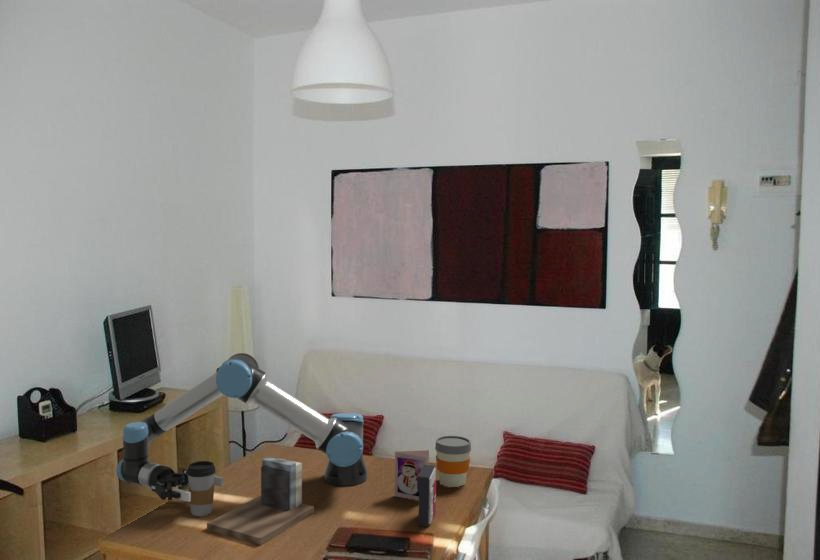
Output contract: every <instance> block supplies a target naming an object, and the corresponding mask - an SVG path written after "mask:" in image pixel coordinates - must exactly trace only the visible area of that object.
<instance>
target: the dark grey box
mask: <svg viewBox="0 0 820 560" xmlns="http://www.w3.org/2000/svg"><path fill="white" fill-rule="evenodd" d="M436 469H437V467H436V466H435V465H431V464H429V465H423V467H422V469H421V471H420V473H419V475H418V477H417V489H418V491H419V501H418V526H422V527H429V525H431V523H432V521H433V519H434V516H435V514H436V508H437V503H436V502H437V480H436V478H437V477H436V476H437V473H436V472H437V470H436Z"/></svg>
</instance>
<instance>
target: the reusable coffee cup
mask: <svg viewBox="0 0 820 560" xmlns="http://www.w3.org/2000/svg"><path fill="white" fill-rule="evenodd" d="M434 449H435V451H436V455H435V461H436V469H437V470H436V471H438V477H439V478H438V480H439V484H440V483H441V484H442V485H444V486H443V487H445V486H448V487H447V488H449V487H458V486H462V485H464V484H465V485H466V481H467V476H468V475H467V474H468V472H469V469H470V468H469V467H470V463H471V456H470V454H471V451H472V444H471V440H470V439H469V438H468V437H465V436H461V435H460V436H459V435H444V436H440V437H438V438H436V440H435V448H434ZM441 484H440V485H441ZM442 485H441V486H442ZM465 485H464V486H465ZM462 487H463V486H462ZM458 488H459V487H458Z"/></svg>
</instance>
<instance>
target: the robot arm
mask: <svg viewBox="0 0 820 560" xmlns="http://www.w3.org/2000/svg"><path fill="white" fill-rule="evenodd" d="M221 396H225V397H227V398H231V399H238V400H240V401H241V402H243V403H244V404H251V403H253V404H255V405H257V406H258V407H260V408H261V409H263V410H264V411H266V412H268V413H269V414H270V415H272V416H274V417H275V418H277V419H279V420H280V421H282V422H284V424H287V425H288V426H289V427H291V428H293V429H294V430H295V431H297V432H299V433H301V434H302V435H303V436H305V437H307V438H308V439H310V440H312V441H313V442H314V443H315V447H316V448H315V449H317V450H319V451H321V453H323V454H325V455H326V456H327V458H328V462H327V464H326V468H325V471H324V480H325V481H326V482H327V483H329V484H331V485H335V486H341V487H342V486H356V485H360V484H362V483H364V482H366V481H367V480H368V469H367V465H366V463H365V460H364V454H363V451H364V422H365V421H364V416H363V414H360V413H355V412H341V413H340V412H339V413H338V412H337V413H334V414H332V415H330V418H329V417H327V416H325V415H324V414H322V413H321V412H318V411H317V410H316V409H315V408H313V407H311V406H310V405H308V404H306V403H305V402H304V401H302V400H300V399H299V398H297V397H296V396H294V395H292V394H291V393H289V392H287V391H286V390H284V389H283V388H281V387H280V386H279V385H277V384H275V383H274V382H272V381H271V380H269V378H268V374H267V372H265V371H263V370H262V369H260V366H259V364H258V361H257V360H256V359H255V357H253V356H252V355H250V354H248V353H244V352H241V353H239V352H238V353H236V354H233V355H231V356H230V357H229V358H228V359H227V360H225V361H224V362H223V363H222V364H221V365H220V366H219V367H217V368H216V370H215V373H214V374H212V375H211V376H209V377H208V378H206V379H204V380H203V381H201V382H199V383H198V384H197V385H195V386H194V387H192V388H191V389H189V390H188V391H186V392H184V393H183V394H181V395H180V396H178V397H177V398H175V399H173V400H172V401H171V402H170V403H168V404H166V405H164V406H163V407H162V408H160V409H158V410H157V411H155V412H154V413H153V414H151V415H150V416H146V417H145V418H144V419H142V420H141V421H136V422H130V423H127V424H125V425H124V426H123V431H122V448H123V458H122V459H121V460H120V461H119V462H118V464H117V467H116V469H115V472H116V475H117V478H118V479H120V480H121V481H123V482H126V483H128V484H134V485H140V487H141V486H142V487H144V488H145V487H146V488H149V489H150V490H151V491H152V492H154V493H156V495H157V496H158V497H159V499H161V500H163V501H165V500H166V499H167V501H172V500H173V499H176V500H180V501H184V502H188V503H190V501H191V492H189V490H188V491H187V490H184V489H180V488H176V487H177V486H182V485H183V486H185V485H188V484H189V483H188V475H187V472H188V471H187V470H188V469H182V472H175V471H174V470H173V468H171V466H166V465H162V464H159V463H154V462H151V461H149V445H151V443H152V442H153V441H155V440H156V439H157V438H158V437H160V436H161V435H163V434H164V433H166V432H167V431H169V430H171V428H174V427H176V426H177V425H178V424H180V423H181V422H183V421H184V420H186V419H188V418H190V416H192V415H194V414H195V413H196V412H198V411H199V410H202V409H203V408H204V407H206V406H207V405H209V404H211V403H212V402H213V401H216V399H219V398H221ZM183 480H184V481H183ZM214 486H216V487H224V477H222V476H217V475H215V477H214Z"/></svg>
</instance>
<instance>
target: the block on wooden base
mask: <svg viewBox="0 0 820 560" xmlns="http://www.w3.org/2000/svg"><path fill="white" fill-rule="evenodd" d="M261 461H262V463H261V465H262V466H261V467H260V473H261V474H260V495H259V496H257V497H255V498H253V499H251V500H249V501H247V502H245V503H242V504H240V505H239V506H237V507H235V508H233V509H231V510H230V511H228V512H226V513H225V512H224V514H221V515H220V516H218V517H216V518H214V519H212V520H210V521H208V522H206V530H207V531H210V532H213V533H216V534H220V535H224V536H227V537H231V538H234V539H237V540H241V541H244V542H248V543H250V544H255V545H258V546H263V545H264V544H266V543H268V542H269V541H271V540H272V539H274V538H276V537H277V536H279V535H280V534H282V533H283V532H286V531H287V530H288V529H291V528H292V527H293V526H295V525H297V524H298V523H299V522H301V521H303V520H304V518H305V519H307V518H308V517H310V516H311V515H312V513H313V512H314V513H315V506H314V505H310V504H306V503H303V462H298V461H293V460H289V459H285V458H280V457H275V458H274V457H269V456H266V457H264V458H262V459H261ZM314 513H313V514H314ZM310 514H311V515H310ZM307 516H308V517H307ZM291 526H292V527H291Z"/></svg>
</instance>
